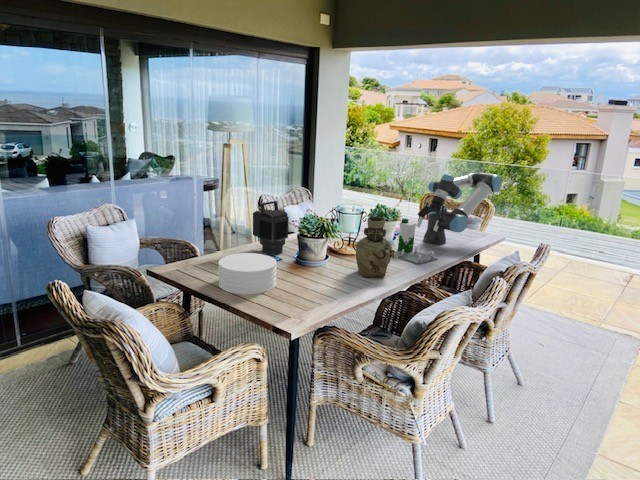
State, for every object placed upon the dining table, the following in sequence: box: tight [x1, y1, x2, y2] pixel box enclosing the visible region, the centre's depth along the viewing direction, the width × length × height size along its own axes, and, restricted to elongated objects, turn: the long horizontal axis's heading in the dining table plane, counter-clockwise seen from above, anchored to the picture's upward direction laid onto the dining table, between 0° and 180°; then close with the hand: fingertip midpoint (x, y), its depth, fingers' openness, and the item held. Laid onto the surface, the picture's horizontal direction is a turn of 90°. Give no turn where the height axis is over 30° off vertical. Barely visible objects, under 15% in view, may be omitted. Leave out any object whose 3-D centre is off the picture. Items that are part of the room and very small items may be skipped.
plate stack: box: [218, 252, 278, 295], centre depth 235 cm, size 28×28×12 cm
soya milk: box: [397, 218, 417, 254], centre depth 301 cm, size 9×9×20 cm
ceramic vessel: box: [355, 216, 396, 279], centre depth 256 cm, size 19×21×30 cm
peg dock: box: [396, 245, 438, 266], centre depth 288 cm, size 18×16×5 cm
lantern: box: [252, 200, 290, 256], centre depth 285 cm, size 15×18×30 cm
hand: (426, 228), depth 296 cm, fingers open, 13 cm apart
